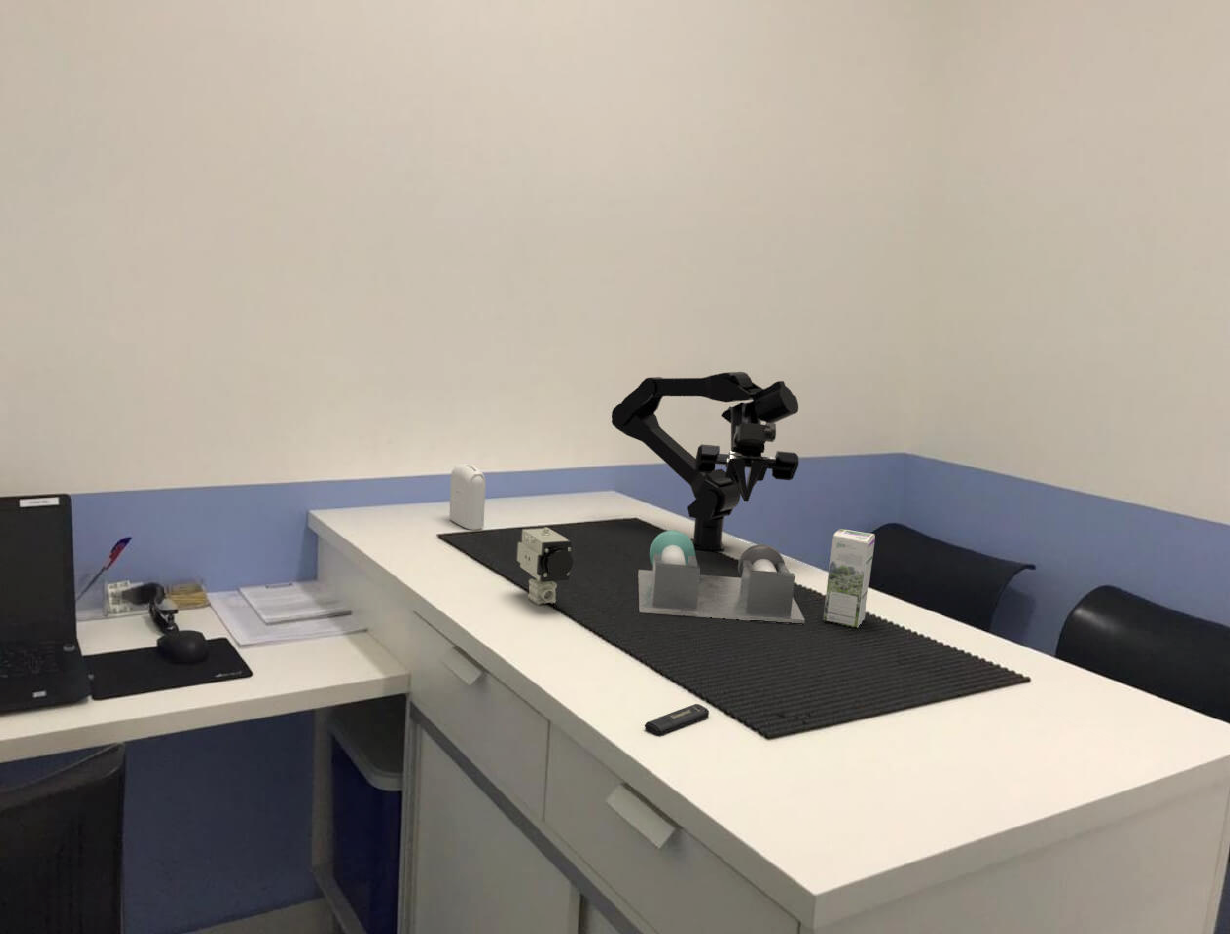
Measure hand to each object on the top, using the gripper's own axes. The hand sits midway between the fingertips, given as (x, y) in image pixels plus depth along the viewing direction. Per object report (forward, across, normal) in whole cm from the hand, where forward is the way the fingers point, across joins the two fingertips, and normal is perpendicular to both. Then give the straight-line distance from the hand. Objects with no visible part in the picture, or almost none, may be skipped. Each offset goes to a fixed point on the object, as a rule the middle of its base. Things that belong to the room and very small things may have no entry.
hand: (746, 500), depth 189 cm
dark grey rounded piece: (+23, +1, -6) cm, 24 cm away
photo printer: (-4, -53, +25) cm, 59 cm away
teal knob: (+19, -13, -2) cm, 24 cm away
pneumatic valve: (+29, -35, -10) cm, 47 cm away
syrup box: (+28, +14, -9) cm, 32 cm away
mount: (+22, -6, -4) cm, 24 cm away
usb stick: (+59, -16, -40) cm, 73 cm away
